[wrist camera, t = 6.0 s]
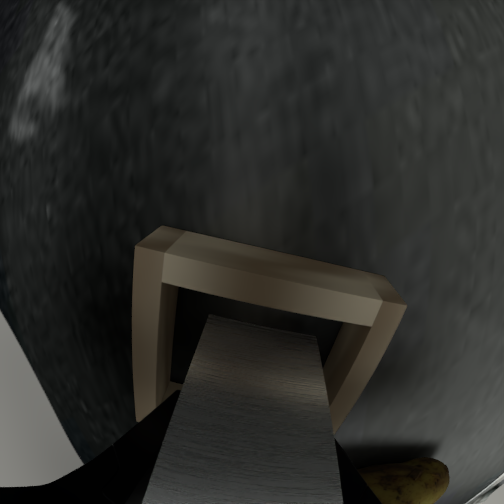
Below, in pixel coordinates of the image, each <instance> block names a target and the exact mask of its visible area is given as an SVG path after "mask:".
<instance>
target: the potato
mask: <svg viewBox="0 0 504 504" xmlns="http://www.w3.org/2000/svg"><path fill="white" fill-rule="evenodd" d="M357 470H358V472H359V473H360V475H361V476H362V477H363V479H364V480H365V482H366V483H367V486H369V487H370V488H371V490H372V491H373V492H374V494H375V495H376V496H377V497H378V499H379V500H380V501H381V502H382V504H433V503H435V502H436V501H437V500H438V499H439V498H440V497H441V496H442V495H443V494H444V492H445V491H446V489H447V487H448V484H449V479H450V478H449V471H448V468H447V466H446V465H444V463H442V462H440V461H439V460H436V459H433V458H428V457H422V458H415V459H412V460H409V461H406V462H403V463H392V464H383V465H377V464H376V465H371V466H369V467H365V468H361V469H357Z"/></svg>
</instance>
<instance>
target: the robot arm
mask: <svg viewBox="0 0 504 504" xmlns="http://www.w3.org/2000/svg"><path fill="white" fill-rule="evenodd" d="M180 392H181V390H176V391H174V392H173V393H172V394H171V395H170V396H169V397H168V398H167V399H165V400H164V401H163V402H162V403H161V404H160V405H159V406H157V407H156V408H155V409H154V410H153V411H152V412H150V413H149V414H148V415H147V416H146V417H145V418H143V419H142V420H141V421H140V422H139V423H138V424H136V425H135V426H134V427H133V428H132V429H131V430H129V431H128V432H127V433H126V434H125V435H123V436H122V437H121V438H120V439H119V440H117V441H116V442H115V443H114V444H113V446H112V445H111V446H110V447H109V448H107V449H106V450H105V451H104V452H102V453H101V454H100V455H98V456H97V457H96V458H94V459H93V460H91V461H89V462H88V463H86V464H85V465H83V466H81V467H80V468H78V469H76V470H74V471H72V472H71V473H69V474H67V475H65V476H63V477H62V478H59V479H58V480H56V481H53V482H51V483H49V484H45V485H40V486H28V487H0V504H142V502H143V499H144V496H145V493H146V490H147V487H148V484H149V481H150V478H151V475H152V472H153V469H154V466H155V463H156V461H157V458H158V455H159V452H160V449H161V446H162V443H163V440H164V437H165V435H166V432H167V429H168V426H169V423H170V420H171V418H172V415H173V412H174V409H175V406H176V403H177V401H178V398H179V395H180ZM334 439H335V438H334ZM335 446H336V453H337V460H338V467H339V474H340V482H341V490H342V498H343V504H382V502H381V501H380V500H379V499H378V497H377V496H376V495H375V494H374V492H373V491H372V490H371V488H370V487H369V486H367V483H366V482H365V480H364V479H363V477H362V476H361V475H360V473H359V472H358V470H357V469H356V468H355V466H354V465H353V463H352V462H351V461H350V459H349V458H348V456H347V455H346V454H345V452H344V451H343V449H342V448H341V446H340V445H339V444H338V442H337V441H336V439H335Z"/></svg>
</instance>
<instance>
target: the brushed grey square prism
mask: <svg viewBox="0 0 504 504" xmlns="http://www.w3.org/2000/svg"><path fill="white" fill-rule="evenodd" d="M142 504H343V498H342V490H341V482H340V474H339V467H338V460H337V453H336V446H335V439H334V433H333V427H332V420H331V414H330V408H329V402H328V396H327V391H326V385H325V380H324V374H323V369H322V363H321V358H320V353H319V348H318V342H317V337H316V336H312V335H306V334H301V333H295V332H290V331H285V330H280V329H275V328H270V327H265V326H260V325H255V324H251V323H246V322H242V321H237V320H233V319H228V318H224V317H220V316H215V315H211V314H209V316H208V319H207V321H206V324H205V327H204V329H203V332H202V335H201V337H200V340H199V343H198V346H197V348H196V351H195V354H194V356H193V359H192V362H191V365H190V367H189V370H188V373H187V376H186V378H185V381H184V384H183V387H182V390H181V392H180V395H179V398H178V401H177V403H176V406H175V409H174V412H173V415H172V418H171V420H170V423H169V426H168V429H167V432H166V435H165V437H164V440H163V443H162V446H161V449H160V452H159V455H158V458H157V461H156V463H155V466H154V469H153V472H152V475H151V478H150V481H149V484H148V487H147V490H146V493H145V496H144V499H143V502H142Z"/></svg>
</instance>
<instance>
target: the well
mask: <svg viewBox="0 0 504 504" xmlns="http://www.w3.org/2000/svg"><path fill="white" fill-rule="evenodd" d="M179 287H183V288H187V289H191V290H195V291H200V292H204V293H208V294H212V295H216V296H221V297H225V298H229V299H234V300H238V301H243V302H247V303H252V304H256V305H261V306H265V307H270V308H275V309H280V310H285V311H289V312H294V313H299V314H305V315H310V316H315V317H320V318H325V319H331V320H336V321H342V322H343V324H342V326H341V328H340V331H339V333H338V335H337V338H336V340H335V342H334V345H333V347H332V349H331V351H330V354H329V356H328V358H327V360H326V362H325V365H324V367H323V374H324V380H325V385H326V391H327V396H328V402H329V408H330V414H331V420H332V427H333V433H334V434H335V433H336V431H337V430H338V429H339V427H340V426H341V424H342V423H343V421H344V420H345V418H346V417H347V415H348V414H349V412H350V411H351V409H352V407H353V406H354V404H355V403H356V401H357V400H358V398H359V396H360V395H361V393H362V391H363V390H364V388H365V386H366V385H367V383H368V381H369V380H370V378H371V376H372V374H373V373H374V371H375V369H376V367H377V366H378V364H379V362H380V360H381V358H382V356H383V355H384V353H385V351H386V349H387V347H388V345H389V343H390V341H391V339H392V337H393V335H394V333H395V331H396V329H397V327H398V325H399V323H400V321H401V319H402V317H403V314H404V312H405V310H406V308H407V304H406V303H405V302H404V301H403V299H402V298H401V297H400V295H399V294H398V293H397V292H396V290H395V289H394V288H393V286H392V285H391V284H390V283H389V281H388V280H387V279H386V278H385V276H382V275H378V274H373V273H369V272H365V271H361V270H356V269H352V268H348V267H343V266H339V265H335V264H330V263H326V262H322V261H317V260H313V259H309V258H304V257H300V256H295V255H291V254H287V253H282V252H278V251H274V250H269V249H265V248H260V247H256V246H251V245H247V244H243V243H238V242H234V241H229V240H225V239H220V238H216V237H211V236H207V235H203V234H198V233H194V232H189V231H185V230H180V229H176V228H171V227H167V226H161V227H159V228H158V229H157V230H155V231H154V232H152V233H151V234H150V235H148V236H147V237H146V238H144V239H143V240H142V241H141V242H139V243H138V244H137V245H135V255H134V271H133V295H132V360H133V383H134V398H135V411H136V421H137V422H140V421H141V420H142V419H143V418H145V417H146V416H147V415H148V414H149V413H150V412H152V411H153V410H154V409H155V408H156V407H157V406H159V405H160V404H161V403H162V402H163V401H164V400H165V399H167V398H168V397H169V396H170V395H171V394H172V393H173V392H174V391H176V390H182V387H183V385H182V384H179V383H175V382H171V381H170V373H171V359H172V347H173V336H174V325H175V316H176V306H177V297H178V289H179Z"/></svg>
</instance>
